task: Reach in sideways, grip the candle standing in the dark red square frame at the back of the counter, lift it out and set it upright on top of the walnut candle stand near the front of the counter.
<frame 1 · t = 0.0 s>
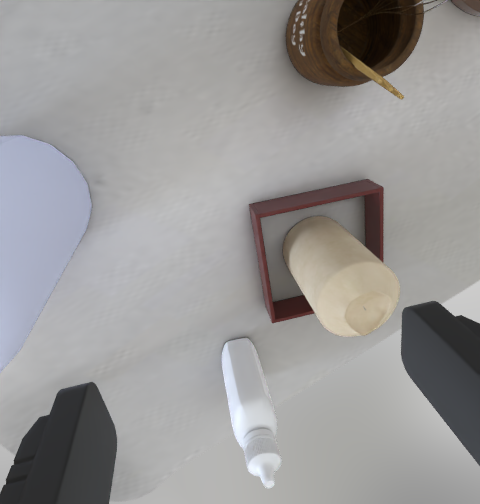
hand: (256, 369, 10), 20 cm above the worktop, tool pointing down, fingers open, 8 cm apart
dark red square frame: (313, 246, 32), on the worktop
candle: (313, 245, 32), resting in dark red square frame
utensil holder: (324, 38, 25), on the worktop
soap bottle: (26, 191, 26), on the worktop
eye dropper bottle: (239, 359, 36), on the worktop
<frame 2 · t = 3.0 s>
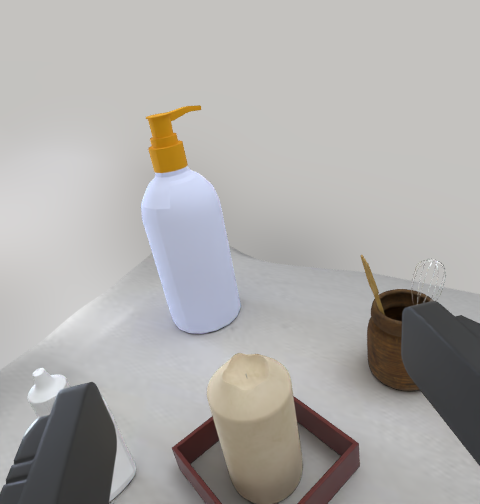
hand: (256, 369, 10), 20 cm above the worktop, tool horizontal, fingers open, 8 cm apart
dark red square frame: (266, 467, 29), on the worktop
candle: (266, 469, 29), resting in dark red square frame
utensil holder: (400, 370, 35), on the worktop
soap bottle: (210, 312, 48), on the worktop
eye dropper bottle: (101, 489, 29), on the worktop
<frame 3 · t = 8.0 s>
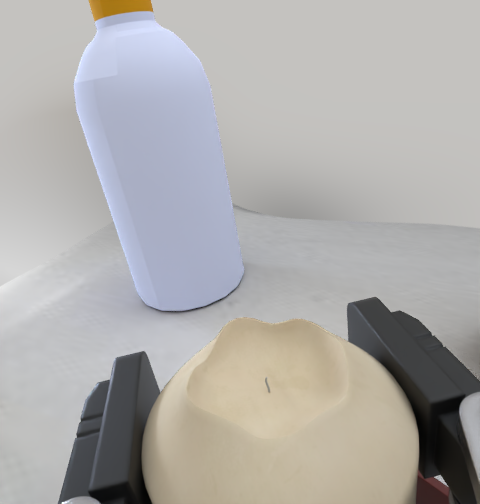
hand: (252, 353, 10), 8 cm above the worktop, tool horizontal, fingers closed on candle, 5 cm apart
soap bottle: (196, 281, 31), on the worktop
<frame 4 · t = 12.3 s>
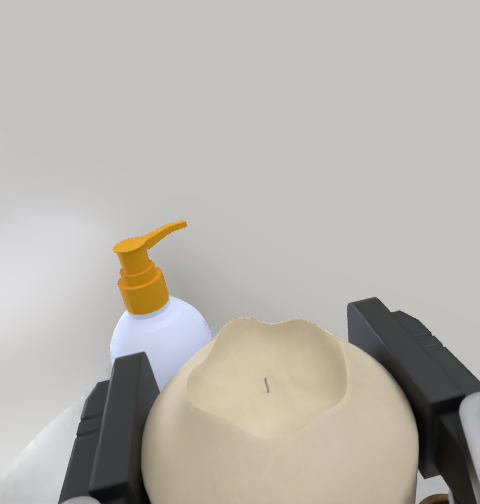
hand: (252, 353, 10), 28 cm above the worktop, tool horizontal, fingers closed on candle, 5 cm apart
soap bottle: (199, 448, 39), on the worktop
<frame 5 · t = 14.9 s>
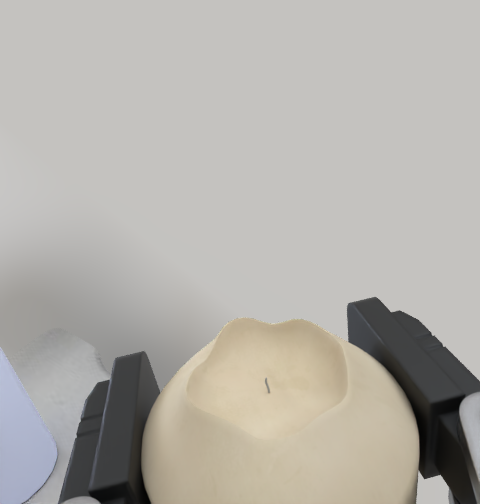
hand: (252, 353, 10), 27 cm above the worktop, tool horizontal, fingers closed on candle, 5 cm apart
soap bottle: (20, 471, 40), on the worktop
when the fingers open (22 cm above the worktop, at t = 17.0 s): candle stays where it is, resting on candle stand.
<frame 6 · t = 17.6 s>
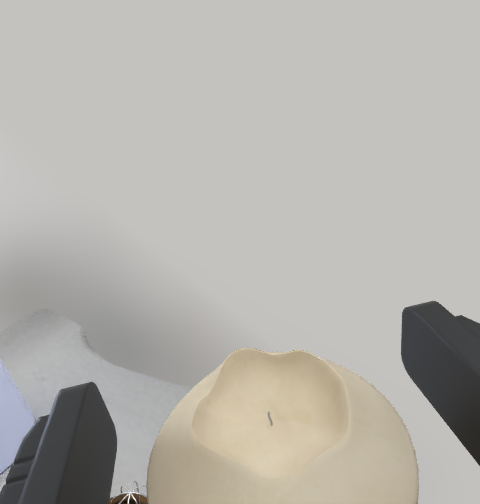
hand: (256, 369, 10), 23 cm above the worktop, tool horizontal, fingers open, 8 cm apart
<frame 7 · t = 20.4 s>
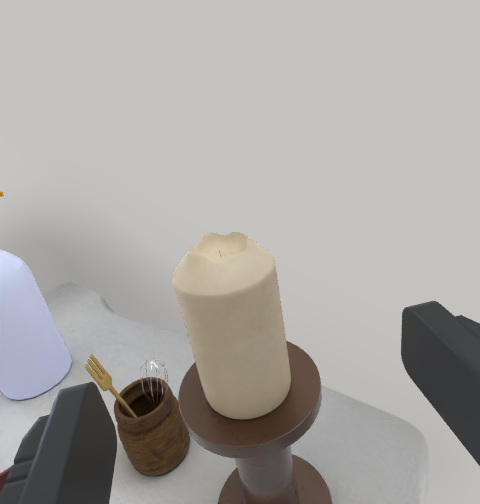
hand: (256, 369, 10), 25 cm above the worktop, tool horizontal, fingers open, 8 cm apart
candle: (248, 386, 24), point 14 cm above the worktop, touching candle stand
utensil holder: (160, 450, 37), on the worktop
candle stand: (248, 382, 24), on the worktop
soap bottle: (42, 374, 50), on the worktop
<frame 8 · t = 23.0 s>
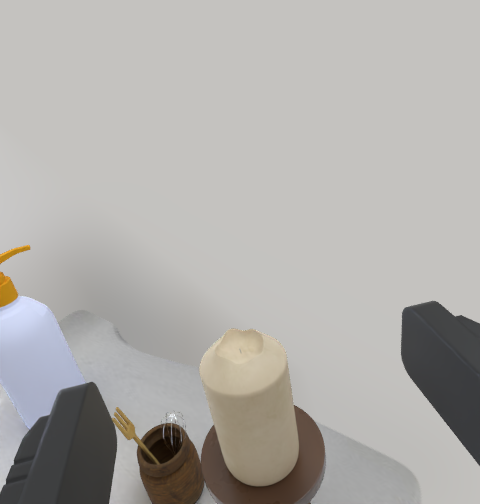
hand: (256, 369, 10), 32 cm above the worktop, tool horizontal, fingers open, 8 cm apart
candle: (261, 451, 28), point 14 cm above the worktop, touching candle stand
utensil holder: (177, 488, 41), on the worktop
candle stand: (261, 448, 28), on the worktop
soap bottle: (63, 408, 54), on the worktop
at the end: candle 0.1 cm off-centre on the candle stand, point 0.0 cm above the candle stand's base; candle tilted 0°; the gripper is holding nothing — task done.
